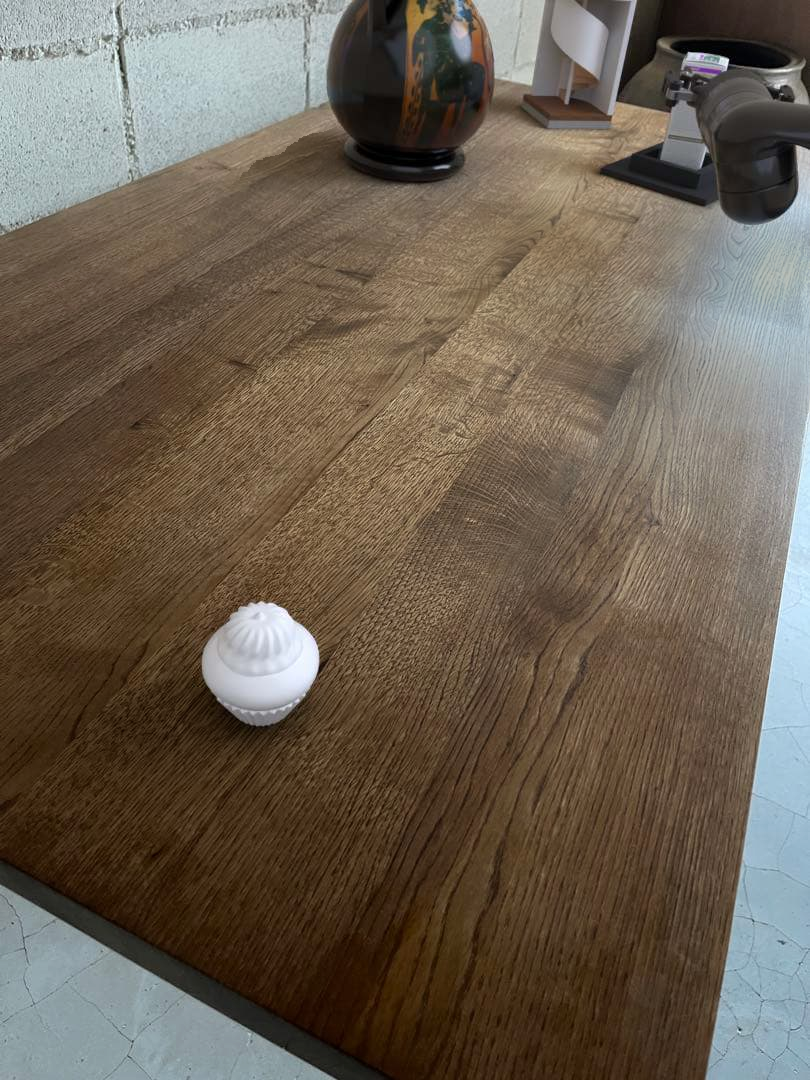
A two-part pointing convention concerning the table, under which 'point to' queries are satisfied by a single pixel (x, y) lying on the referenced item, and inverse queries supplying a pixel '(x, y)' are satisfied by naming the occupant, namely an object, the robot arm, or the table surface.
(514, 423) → the table surface
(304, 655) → the muffin
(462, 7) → the amphora vase
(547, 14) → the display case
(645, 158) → the dock pad
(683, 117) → the syrup box
